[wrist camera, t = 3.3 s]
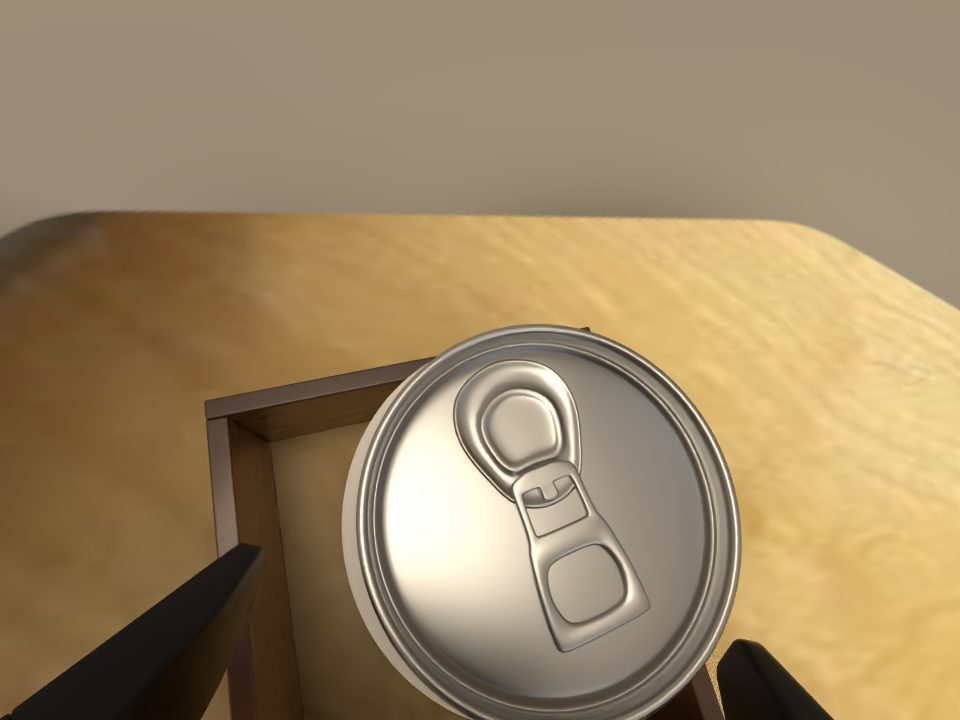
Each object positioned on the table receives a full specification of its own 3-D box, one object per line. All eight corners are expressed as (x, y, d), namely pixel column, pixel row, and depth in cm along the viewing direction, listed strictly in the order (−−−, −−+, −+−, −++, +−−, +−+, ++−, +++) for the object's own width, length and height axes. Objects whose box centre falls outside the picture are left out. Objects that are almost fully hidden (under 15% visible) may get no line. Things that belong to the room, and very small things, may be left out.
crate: (662, 719, 17) (747, 783, 13) (299, 861, 14) (253, 1000, 10) (552, 367, 21) (589, 325, 16) (251, 430, 18) (202, 400, 14)
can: (511, 411, 20) (645, 255, 8) (577, 571, 18) (854, 641, 7) (355, 468, 18) (267, 369, 7) (412, 649, 16) (416, 909, 5)
